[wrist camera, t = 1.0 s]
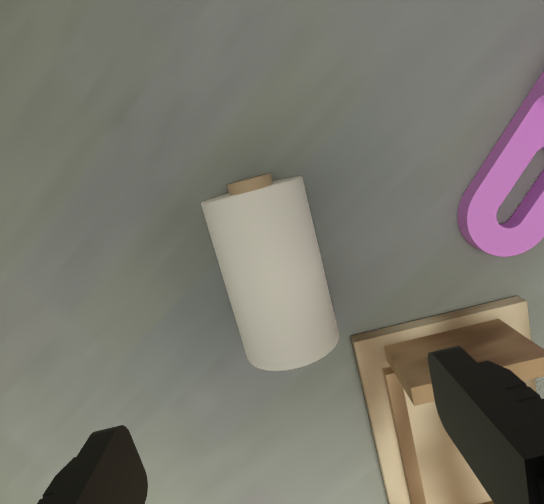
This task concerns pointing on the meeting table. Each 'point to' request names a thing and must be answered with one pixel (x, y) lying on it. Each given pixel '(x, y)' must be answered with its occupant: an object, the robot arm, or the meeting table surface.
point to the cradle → (420, 399)
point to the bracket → (508, 186)
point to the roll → (273, 271)
